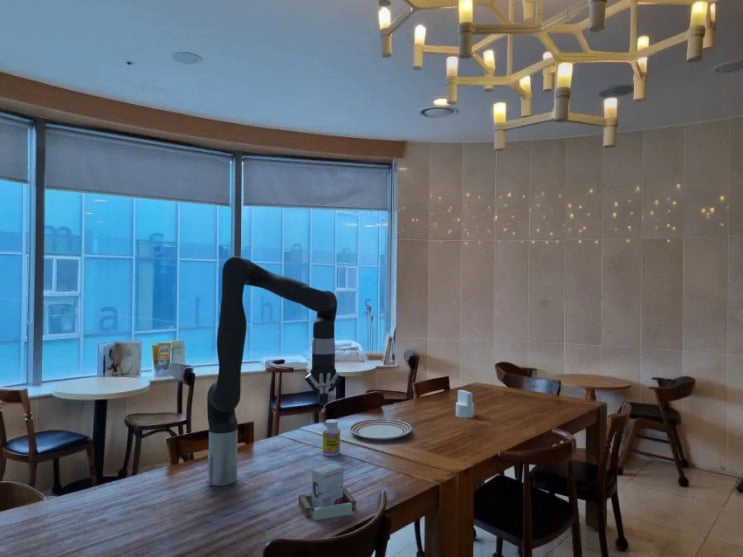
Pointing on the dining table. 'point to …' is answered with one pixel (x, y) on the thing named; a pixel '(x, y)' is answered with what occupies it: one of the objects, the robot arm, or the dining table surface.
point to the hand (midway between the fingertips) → (323, 404)
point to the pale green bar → (332, 511)
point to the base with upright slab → (464, 404)
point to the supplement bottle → (331, 438)
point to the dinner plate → (380, 429)
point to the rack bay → (307, 500)
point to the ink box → (327, 485)
